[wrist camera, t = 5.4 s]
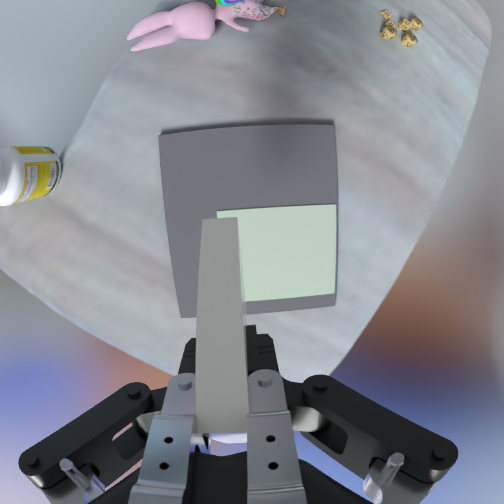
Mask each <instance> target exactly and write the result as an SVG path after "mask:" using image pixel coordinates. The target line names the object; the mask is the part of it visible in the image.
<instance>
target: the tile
mask: <svg viewBox="0 0 504 504" xmlns="http://www.w3.org/2000/svg"><path fill="white" fill-rule="evenodd" d="M246 325H247V315H246V300H245V289H244V279H243V269H242V259H241V249H240V239H239V228H238V218H237V217H227V218H214V219H203V220H202V231H201V245H200V260H199V277H198V298H197V324H196V380H195V394H196V416H197V428H198V433H199V434H201V435H203V436H205V437H208V438H211V439H214V440H217V441H220V442H223V443H243V442H247V414H249V396H248V369H247V345H246Z"/></svg>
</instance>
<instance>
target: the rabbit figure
mask: <svg viewBox="0 0 504 504" xmlns="http://www.w3.org/2000/svg"><path fill="white" fill-rule="evenodd" d="M215 1H216V2H217V3H216V8H215V9H211V7H210V6H208V5H207V4H205V3H203V2H196V1H193V2H190V3H187V4H183V5H181V6H179V7H177V8H175V9H173V10H171V11H160V12H156V13H153V14H151V15H149V16H147V17H145V18H143V19H142V20H141V21H139V22H138V23H137V24H136V25H135V26H134V28H133V29H132V30H131V32H130V33H129V35H128V37H127V40H131V39H133V38H135V37H138V36H141V35H144V34H146V33H149V32H152V31H155V30H158V29H160V28H163V27H166V28H163V29H160V30H158V31H156V32H154V33H152V34H150V35H148V36H146V37H144V38H143V39H142V40H141V41H139V42H138V43H137V44H136V45H134V46H133V47H132V48H131V49H130V50H131V51H138V50H142V49H147V48H152V47H156V46H161V45H166V44H170V43H173V42H176V41H178V40H179V39H182V38H187V39H201V40H209V39H211V38H212V36H213V35H214V33H215V20H218V19H219V20H222V21H224V22H225V23H226V24H228V25H230V26H231V27H233V28H235V29H238V30H240V31H243V32H249V28H248V27H244V26H241V25H238V24H237V23H236V22H235V21H234V19H236V18H238V17H242V18H247V19H251V20H255V21H263V20H266V19H268V18H269V17H270V16H271V15H272V14H273V13H274V12H275V11H276V10H280V11H281V12H280V15H282V14H283V15H284V14H285V10H286V7H287V6H285V7H284V8H279V7H270V6H265V5H262V4H263V2H264V0H215ZM283 15H282V16H283ZM167 26H169V27H167Z"/></svg>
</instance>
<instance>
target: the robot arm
mask: <svg viewBox="0 0 504 504" xmlns="http://www.w3.org/2000/svg"><path fill="white" fill-rule="evenodd" d="M246 345H247V369H248V396H249V414H247V451H245V452H241V453H237V454H232V455H228V456H216V455H211V454H210V451H211V438H208V437H205V436H203V435H201V434H199V433H198V428H197V416H196V394H195V380H196V338H191V339H190V340H189V341H188V342H187V343H186V346H185V349H184V353H183V357H182V361H181V364H180V368H179V372H178V375H176V376H174V377H173V378H171V379H170V381H169V383H168V386H167V387H164V388H161V389H156V390H150V389H149V387H148V386H147V385H146V384H143V383H139V382H134V383H129V384H127V385H125V386H123V387H122V388H121V389H119V390H118V391H116V392H115V393H113V394H112V395H110V396H109V397H107V398H106V399H105V400H103V401H102V402H100V403H98V404H97V405H95V406H94V407H93V408H91V409H90V410H88V411H86V412H85V413H84V414H82V415H80V416H79V417H77V418H76V419H75V420H73V421H71V422H70V423H68V424H67V425H65V426H64V427H62V428H60V429H59V430H58V431H56V432H54V433H53V434H51V435H50V436H48V437H46V438H45V439H43V440H42V441H40V442H38V443H37V444H35V445H34V446H32V447H30V448H29V449H27V450H26V451H25V452H23V453H22V454H21V456H20V458H19V468H20V469H21V471H22V472H23V473H24V474H25V475H26V476H27V477H28V478H29V479H30V480H31V481H32V482H33V484H34V485H35V486H36V487H37V488H38V489H39V490H40V491H42V492H43V493H44V494H45V496H46V497H47V498H48V500H49V501H50V503H51V504H419V503H420V501H422V500H423V499H424V498H425V497H426V496H427V495H428V494H429V493H430V492H431V490H432V489H433V488H434V487H435V486H436V485H437V484H438V483H439V481H440V480H441V479H442V478H443V477H444V476H445V474H446V473H447V472H448V471H449V470H450V468H451V467H452V466H453V464H454V463H455V462H456V460H457V458H458V449H457V447H456V445H455V444H454V443H453V442H452V441H450V440H448V439H446V438H444V437H442V436H440V435H438V434H435V433H433V432H431V431H429V430H427V429H425V428H423V427H421V426H419V425H417V424H415V423H413V422H411V421H409V420H408V419H406V418H404V417H402V416H400V415H398V414H396V413H394V412H392V411H390V410H389V409H387V408H385V407H383V406H381V405H379V404H377V403H376V402H374V401H372V400H370V399H368V398H367V397H365V396H363V395H361V394H359V393H358V392H356V391H354V390H352V389H351V388H349V387H347V386H346V385H344V384H342V383H340V382H339V381H337V380H335V379H334V378H332V377H330V376H327V375H314V376H311V377H309V378H307V379H306V380H305V381H304V382H303V383H296V382H291V381H288V380H286V379H284V378H283V377H282V376H281V375H280V373H279V369H278V364H277V359H276V353H275V348H274V343H273V339H272V338H271V337H270V336H269V335H268V334H257V333H256V325H246ZM130 423H132V425H133V426H132V427H130V428H129V429H128V430H126V431H125V432H124V433H122V434H121V435H120V436H119V437H117V438H116V439H114V440H113V441H112V439H113V437H114V435H115V434H116V433H118V432H119V431H120V430H122V429H123V428H124V427H126V426H127V425H128V424H130ZM293 430H296V431H300V433H301V434H302V435H303V436H304V437H305V438H306V439H308V440H309V441H310V442H311V443H313V444H314V445H316V446H317V447H318V448H319V449H321V450H322V451H323V452H325V453H326V454H328V455H329V456H330V457H332V458H333V459H335V460H336V461H337V462H339V463H340V464H341V465H343V466H344V467H346V468H347V469H349V470H350V471H352V472H353V473H355V474H356V475H358V476H359V477H361V478H362V479H364V482H363V490H364V492H365V493H366V495H368V496H369V497H370V498H371V500H372V501H373V503H372V502H370V501H368V500H366V499H365V498H363V497H361V496H360V495H358V494H356V493H354V492H353V491H351V490H349V489H348V488H346V487H344V486H343V485H341V484H340V483H338V482H337V481H335V480H333V479H332V478H330V477H329V476H327V475H326V474H324V473H323V472H321V471H320V470H318V469H317V468H315V467H314V466H313V465H311V464H309V463H308V462H306V461H304V460H301V459H298V456H297V451H296V444H295V438H294V432H293ZM142 458H143V460H142V465H141V467H139V468H138V469H137V470H135V471H134V472H132V473H131V474H130V475H128V476H127V477H125V478H124V479H123V480H121V481H120V482H119V483H117V484H116V485H114V486H113V487H111V488H110V489H108V490H107V491H105V488H106V487H107V486H109V485H110V484H111V483H113V482H114V481H115V480H116V479H118V478H119V477H120V476H122V475H123V474H124V473H125V472H126V471H128V470H129V469H130V468H131V467H132V466H134V465H135V464H136V463H137V462H139V461H140V460H141V459H142Z"/></svg>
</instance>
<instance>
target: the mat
mask: <svg viewBox="0 0 504 504" xmlns="http://www.w3.org/2000/svg"><path fill="white" fill-rule="evenodd" d="M159 151H160V165H161V177H162V188H163V198H164V208H165V217H166V225H167V233H168V241H169V248H170V255H171V262H172V268H173V275H174V281H175V287H176V293H177V299H178V304H179V310H180V315H181V318H191V317H197V298H198V277H199V260H200V245H201V231H202V220H203V219H214V218H227V217H237V218H238V228H239V239H240V249H241V259H242V269H243V279H244V289H245V300H246V314H257V313H270V312H281V311H292V310H301V309H311V308H320V307H329V306H335V302H336V283H337V254H338V192H337V163H336V144H335V130H334V125H310V124H291V125H257V126H239V127H226V128H214V129H204V130H195V131H187V132H179V133H172V134H165V135H159Z"/></svg>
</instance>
